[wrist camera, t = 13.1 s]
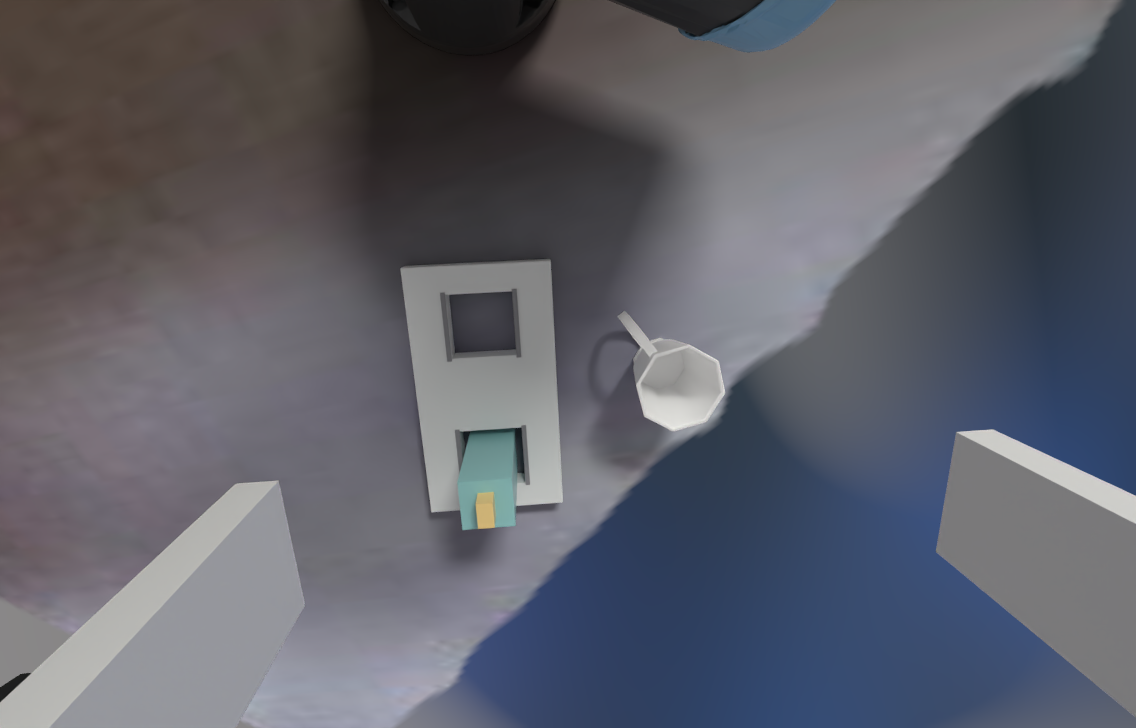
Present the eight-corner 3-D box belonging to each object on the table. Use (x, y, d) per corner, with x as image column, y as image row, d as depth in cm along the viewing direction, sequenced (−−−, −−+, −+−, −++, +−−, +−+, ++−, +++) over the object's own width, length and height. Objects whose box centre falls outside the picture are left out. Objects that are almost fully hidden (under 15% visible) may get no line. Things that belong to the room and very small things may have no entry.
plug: (470, 429, 49) (454, 493, 38) (514, 426, 49) (511, 489, 38) (474, 469, 50) (460, 542, 39) (517, 466, 50) (515, 538, 39)
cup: (648, 412, 50) (670, 449, 42) (582, 330, 47) (593, 353, 39) (709, 366, 49) (743, 395, 41) (646, 280, 46) (669, 294, 39)
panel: (405, 265, 44) (400, 268, 42) (549, 258, 45) (550, 260, 43) (435, 500, 50) (431, 512, 48) (561, 491, 51) (563, 502, 49)
